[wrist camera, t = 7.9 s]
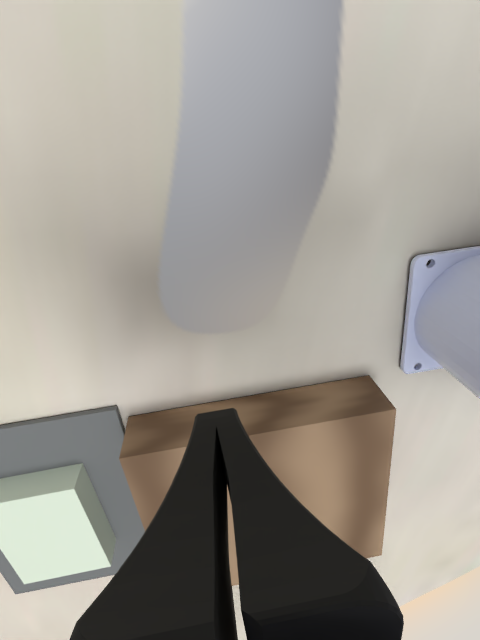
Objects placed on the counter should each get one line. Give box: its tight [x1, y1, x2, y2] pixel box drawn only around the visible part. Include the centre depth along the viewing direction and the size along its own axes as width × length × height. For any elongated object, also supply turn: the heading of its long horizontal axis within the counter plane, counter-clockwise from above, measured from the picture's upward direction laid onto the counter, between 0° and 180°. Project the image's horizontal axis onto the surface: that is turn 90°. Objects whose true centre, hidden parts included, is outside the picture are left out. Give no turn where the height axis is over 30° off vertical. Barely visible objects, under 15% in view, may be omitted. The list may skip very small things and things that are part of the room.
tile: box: [0, 463, 116, 584], centre depth 24 cm, size 6×8×2 cm
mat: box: [0, 406, 145, 594], centre depth 25 cm, size 12×16×1 cm
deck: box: [119, 375, 396, 586], centre depth 25 cm, size 16×14×4 cm
